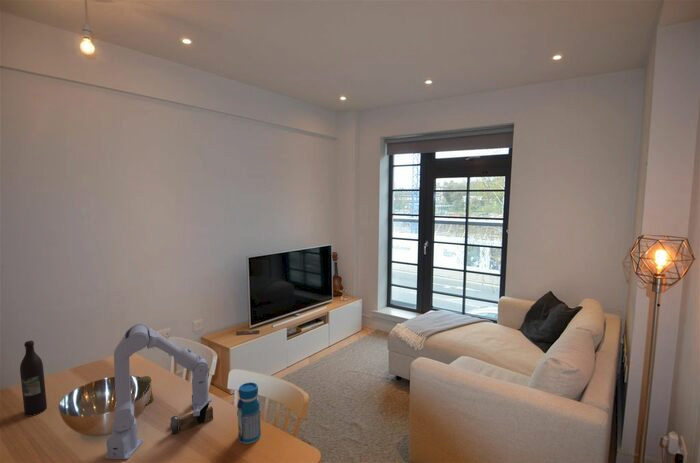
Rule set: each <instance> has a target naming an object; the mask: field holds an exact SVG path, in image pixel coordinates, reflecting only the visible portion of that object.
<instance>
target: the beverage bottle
mask: <svg viewBox="0 0 700 463" xmlns="http://www.w3.org/2000/svg"><path fill="white" fill-rule="evenodd" d="M258 394H259V386H258V384H257V383H255V382H245V383H242V384H241V385H240V386H239V388H238V396H239V399H238V401H237V406H236V407H237V410H236V411H237V412H236V415H237V425H238V434H237V435H238V436H237V438H238V441H239V442H240V443H242V444H245V445H249V444H253V443H255V442H257V441H259V439H260V438H261V436H262V431H261V412H262V410H261V400H260V398H259V397H258Z"/></svg>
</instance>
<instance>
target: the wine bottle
mask: <svg viewBox="0 0 700 463" xmlns="http://www.w3.org/2000/svg"><path fill="white" fill-rule="evenodd" d="M34 345H35V341H34V340H27V341H25V342H24V348H25V354H24V357H23V359H22V360H21V363H20V366H19V374H20V384H21V391H22V401H23V403H22V405H23V411H24V412H23V413H24V415H25V416H27V415H32V416H35V415H34V414H36V415H38V414H37V413H39V414H41V413H43V412H45V411H46V410H47V407H48V403H47V394H46V383H45V382H46V381H45V372H44V363H43V360H42V359H41V357H40V356H39V355H38V354H37V353H36V352H35V349H34V348H35V347H34ZM45 409H46V410H45ZM44 410H45V411H44ZM42 411H43V412H42ZM40 412H41V413H40Z"/></svg>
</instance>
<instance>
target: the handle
mask: <svg viewBox="0 0 700 463" xmlns="http://www.w3.org/2000/svg"><path fill="white" fill-rule="evenodd" d="M210 420H214V408H213V406H208V408H207V411H206V417H205V421H204V423H205V422H208V421H210ZM198 425H199V424H198V421H197V416H193V412H192V413H189V414H187V415H183V416H181V417H178V429H179V432H182V431H184V430H187V429H190V428H192V427H195V426H198Z"/></svg>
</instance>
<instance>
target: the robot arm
mask: <svg viewBox="0 0 700 463" xmlns="http://www.w3.org/2000/svg"><path fill="white" fill-rule="evenodd" d="M145 348H146V349H147V350H149V349H153V348H157V349H159V350H161V351H163V352H165V353H167V354H168V355H170V356H172V357H173V360H174V363H175V364H177V365H179V366H181V367H182V368H184V369H186V370H187V371H191V372H192V373H191V374H192V375H191V376H192V378H191V392H192V395H193V401H192V400H191V406H192V405H193V408H192V413H193V416H197V421H198V425H201V424H204V423H205V422H204V421H205V417H206V411H207V408H208V407H210V403H212V401H213V398H212V397H210V396H209V376H208V374H209V371H210V367H209V365H208V363H207V360H206V359H205V357H204V356H202V355H198V354H196V353H194V352H193V350H192V349H191V348H190V347H188V348H186V347H178V346H177V345H176V344H174V343H172V342H171V341H170V340H168V338H165V336H163V335H161V334H160V333H158V332H157V331H155V330H154V329H153V328H151V327H148V326H147V325H146V324H143V323H136V324H135V325H132V326H131V327H130V328H129V329H127V330H126V331H125V333H124V335H123V337H122V338H121V340H120V342H119V343H118V345H117V346H116V347H115V349H114V350H113V351H114V352H113V367H114V387H115V389H114V391H115V392H114V393H115V407H114V414H113V415H114V416H113V422H112V431H111V434H110V435H109V437H108V438H107V439H106V453H107V454H106V456H105V457H104V459H107V460H109V459H110V460H111V459H112V460H128V459H129V458H130V457H131V456H132V455H133V454H134V452H135V451H136V450H137V449H138V448H139V447H140V446H141V444H142V443H143V442H144V439H143V438H142V439H141V438H139V436H138V422H137V418H135V409H136V408H135V403H134V402H133V401H132V394H131V393H132V392H131V368H130V366H131V364H130V357H132V356H133V354H135V353H138V352H139V351H141V350H143V349H145ZM192 395H191V396H192Z"/></svg>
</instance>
